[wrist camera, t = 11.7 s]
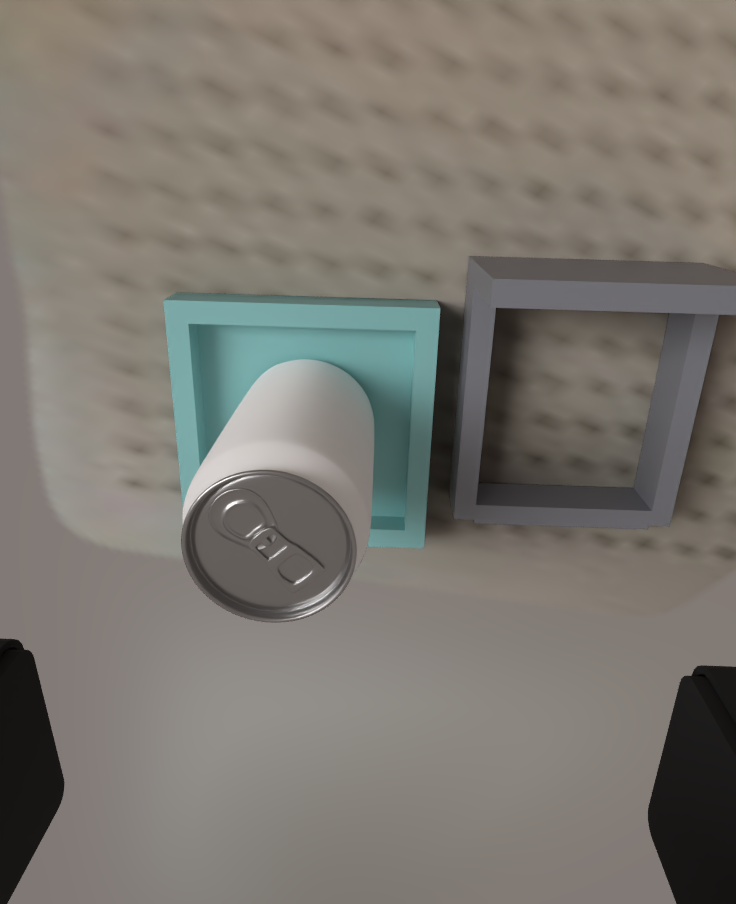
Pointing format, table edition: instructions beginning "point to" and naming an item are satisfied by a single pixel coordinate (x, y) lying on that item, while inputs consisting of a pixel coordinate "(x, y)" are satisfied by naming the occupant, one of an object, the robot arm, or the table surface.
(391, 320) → the tray
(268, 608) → the can
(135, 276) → the table surface
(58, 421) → the table surface
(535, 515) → the bay
